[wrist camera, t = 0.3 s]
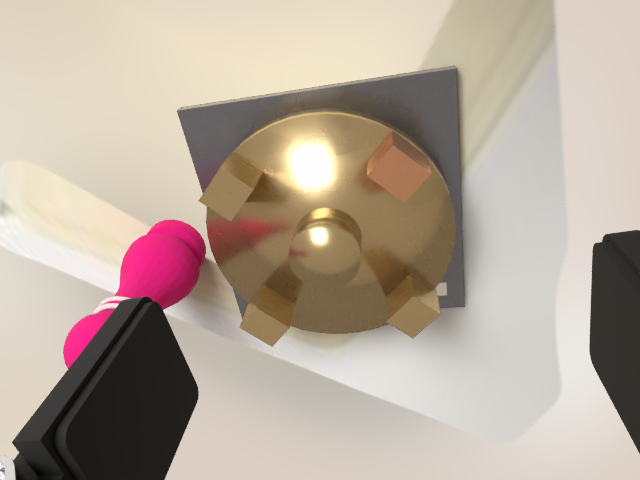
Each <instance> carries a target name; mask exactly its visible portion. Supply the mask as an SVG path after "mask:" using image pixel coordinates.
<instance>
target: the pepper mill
mask: <svg viewBox="0 0 640 480" xmlns="http://www.w3.org/2000/svg"><path fill="white" fill-rule="evenodd" d="M205 254H206V247H205V243H204V240H203V238H202V237H201V235H200V234H199V233H198V232H197V231H196V230H195V229H194V228H193V227H191V226H190V225H188V224H186V223H184V222H182V221H178V220H164V221H161V222H159V223H157V224H155V225H154V226H153V227H152V228H151V230H150V231H149V232H148V233H147V235H145V236H142V237H140V238H139V239H137V240H136V241H134V242H133V243H132V244H131V246H130V247H129V249H128V251H127V252H126V254H125V256H124V258H123V262H122V266H121V274H120V287H119V290H118V291H117V293H116V295H115V296H114V297H110V298H107V299H105V300H104V301H102V302H101V303H100V304H99V306H98V308H97V309H96V310H95V311H94V312H93V314H92V315H89V316H86V317H85V318H83V319H81V320H80V321H79V322H78V323H77V324H76V325H74V327H73V328H72V329H71V331H70V332H69V334H68V336H67V338H66V341H65V345H64V350H63V351H64V352H63V353H64V360H65V364H66V366H67V367H68V369H69V368H70V367H71V365H72V364H73V363H74V361H75V360H76V359H77V358H78V356H79V355H80V354H81V352H82V351H83V350H84V349H85V347H86V346H87V345H88V343H89V342H90V341H91V339H92V338H93V337H94V336H95V334H96V333H97V332H98V330H99V329H100V328H101V327H102V325H103V324H104V323H105V321H106V320H107V319H108V318H109V316H110V315H111V314H112V312H113V311H114V310H115V308H116V307H117V306H118V305H119V303H120V302H121V301H122V300H125V299H132V298H139V297H146V296H147V297H150V298H151V299H152V300H153V301H154V302H158V303H159V304H160V306H161V308H162V310H164V309H165V308H168V307H170V306H172V305H174V304H176V303H178V302H179V301H180V300H182V299H183V298H184V297H186V296H187V295H188V294H189V293H190V291H191V290H192V289H193V287H194V286H195V284H196V282H197V280H198V276H199V267H200V265H201V264H202V262H203V260H204V258H205Z"/></svg>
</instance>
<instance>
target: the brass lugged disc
mask: <svg viewBox="0 0 640 480" xmlns="http://www.w3.org/2000/svg"><path fill="white" fill-rule="evenodd" d="M199 201H200V202H201V203H203V204H204V205H206V206H207V219H206V224H207V233H208V239H209V243H210V247H211V250H212V253H213V255H214V258H215V260H216V263H217V265H218V266H219V268H220V270H221V272H222V273H223V275H224V276H225V278H226V279H227V281H228V282H229V283H230V285H231V286H232V287H233V288H234V289H235V290H236V291H237V292H238V293H239V294H240V296H241V297H243V298H244V299H245V300H246V301H247V302H249V304H248V306H247V309H246V311H245V314H244V317H243V320H242V322H241V325H240V328H241V329H243V330H245V331H246V332H248V333H250V334H251V335H253V336H255V337H256V338H258V339H260V340H262V341H263V342H265V343H267V344H268V345H270V346H273V345H274V344H275V343H276V342H277V341H278V340H279V339H280V338H281V337H282V335H283V334H284V333H285V332H286V331H287V330H288V329H289V328H290V326H293V327H296V328H300V329H303V330H308V331H313V332H320V333H331V334H337V333H354V332H362V331H366V330H371V329H375V328H378V327H381V326H384V325H387V324H389V323H390V324H391V325H393V326H394V327H396V328H397V329H399V330H400V331H402V332H404V333H405V334H407V335H408V336H410V337H411V338H414V337H415V336H416V335H417V334H418V333H420V332H421V331H422V330H423V329H424V328H425V327H426V326H428V325H429V324H430V323H431V322H432V321H433V320H434V319H436V318H437V317H438V316H439V315H440V307H439V301H438V295H437V290H436V289H435V288H436V287H437V286H438V284H439V283H440V282H441V280H442V278H443V276H444V274H445V273H446V271H447V269H448V266H449V263H450V261H451V258H452V255H453V250H454V245H455V236H456V223H455V215H454V209H453V205H452V202H451V198H450V195H449V191H448V188H447V185H446V183H445V180H444V178H443V176H442V174H441V172H440V170H439V169H438V167H437V165H436V164H435V162H434V161H433V159H432V158H431V157H430V156H429V154H428V153H427V152H426V151H425V150H424V149H423V147H422V146H421V145H419V144H418V143H417V142H416V141H415V140H414V139H413V138H411V137H410V136H409V135H408V134H406V133H405V132H403V131H402V130H400V129H399V128H397V127H396V126H394V125H392V124H390V123H388V122H386V121H384V120H381V119H379V118H377V117H374V116H371V115H368V114H365V113H361V112H356V111H351V110H346V109H331V108H322V109H309V110H304V111H299V112H295V113H291V114H288V115H285V116H282V117H280V118H277V119H275V120H273V121H271V122H269V123H267V124H265V125H263V126H261V127H260V128H258V129H257V130H256V131H254V132H253V133H252V134H250V135H249V136H248V137H247V138H246V139H244V140H243V141H242V142H241V143H240V144H239V145H238V146H237V147H236V149H235V150H234V151H232V152H231V153H230V155H229V156H228V157H227V159H226V160H225V162H224V163H223V164H222V166H221V167H220V169H219V170H218V172H217V173H216V175H215V176H214V178H213V179H212V181H211V183H210V184H209V186H208V187H207V189H206V190H205V192H204V193H203V195H202V197H201V198H200V200H199Z"/></svg>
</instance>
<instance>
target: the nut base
mask: <svg viewBox="0 0 640 480" xmlns="http://www.w3.org/2000/svg"><path fill="white" fill-rule="evenodd" d="M322 108H331V109H346V110H351V111H356V112H361V113H365V114H368V115H371V116H374V117H377V118H379V119H381V120H384V121H386V122H388V123H390V124H392V125H394V126H396V127H397V128H399V129H400V130H402V131H403V132H405V133H406V134H408V135H409V136H410V137H411V138H413V139H414V140H415V141H416V142H417V143H418V144H419V145H421V146H422V147H423V149H424V150H425V151H426V152H427V153H428V154H429V156H430V157H431V158H432V159H433V161H434V162H435V164H436V165H437V167H438V169H439V170H440V172H441V174H442V176H443V178H444V180H445V183H446V185H447V188H448V191H449V195H450V198H451V202H452V205H453V209H454V215H455V223H456V236H455V245H454V250H453V255H452V258H451V261H450V263H449V266H448V269H447V271H446V273H445V274H444V276H443V278H442V280H441V282H440V283H439V284H438V286H437V287H436V288H435V289H436V290H437V295H438V301H439V307H440V308H451V307H465V303H464V274H463V245H462V216H461V187H460V158H459V129H458V100H457V71H456V67H455V66H450V67H443V68H437V69H430V70H424V71H417V72H411V73H404V74H397V75H391V76H384V77H378V78H372V79H365V80H358V81H351V82H345V83H338V84H332V85H325V86H319V87H312V88H305V89H299V90H293V91H286V92H280V93H273V94H266V95H259V96H253V97H246V98H240V99H233V100H227V101H220V102H213V103H207V104H200V105H194V106H187V107H181V108H180V109H178V110H177V112H178V116H179V119H180V122H181V125H182V128H183V131H184V135H185V138H186V141H187V144H188V147H189V151H190V154H191V157H192V160H193V163H194V167H195V170H196V173H197V176H198V179H199V182H200V185H201V189H202V192H203V193H204V192H205V190H206V189H207V187H208V186H209V184H210V183H211V181H212V179H213V178H214V176H215V175H216V173H217V172H218V170H219V169H220V167H221V166H222V164H223V163H224V162H225V160H226V159H227V157H228V156H229V155H230V153H231V152H232V151H234V150H235V149H236V147H237V146H238V145H239V144H240V143H241V142H242V141H243V140H244V139H246V138H247V137H248V136H249V135H250V134H252V133H253V132H254V131H256V130H257V129H258V128H260V127H261V126H263V125H265V124H267V123H269V122H271V121H273V120H275V119H277V118H280V117H282V116H285V115H288V114H291V113H295V112H299V111H304V110H309V109H322ZM233 290H234V293H235V297H236V300H237V303H238V306H239V309H240V312H241V316H242V319H243V317H244V314H245V311H246V309H247V306H248V304H249V302H247V301H246V300H245V299H244V298H243V297H241V296H240V294H239V293H238V292H237V291H236V290H235V289H234V288H233Z"/></svg>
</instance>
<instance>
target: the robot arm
mask: <svg viewBox="0 0 640 480" xmlns="http://www.w3.org/2000/svg"><path fill="white" fill-rule="evenodd" d="M591 291H592V292H591V320H590V356H591V360H592V364H593V366H594V368H595V370H596V372H597V374H598V376H599V378H600V380H601V382H602V383H603V385H604V387H605V389H606V391H607V393H608V395H609V396H610V399H611V400H612V402H613V404H614V406H615V408H616V410H617V412H618V413H619V415H620V417H621V419H622V421H623V423H624V425H625V427H626V428H627V431H628V432H629V434H630V436H631V438H632V440H633V442H634V444H635V446H636V447H637V449H638V451H639V453H640V231H639V230H634V231H627V232H620V233H612V234H606V235H605V236H604V237H603V240H602V242H601V243H595V244H594V247H593V260H592V289H591ZM197 400H198V387H197V384H196V382H195V380H194V377H193V375H192V373H191V371H190V369H189V366H188V364H187V362H186V360H185V358H184V355H183V353H182V351H181V350H180V347H179V345H178V342H177V340H176V338H175V336H174V334H173V332H172V329H171V327H170V325H169V323H168V321H167V319H166V316H165V314H164V312H163V310H162V308H161V306H160V304H159V303H158V302H154V301H153V300H152V299H151V298H150V297H147V296H146V297H139V298H132V299H125V300H122V301H121V302H120V303H119V305H118V306H117V307H116V308H115V310H114V311H113V312H112V314H111V315H110V316H109V318H108V319H107V320H106V321H105V323H104V324H103V325H102V327H101V328H100V329H99V330H98V332H97V333H96V334H95V336H94V337H93V338H92V339H91V341H90V342H89V343H88V345H87V346H86V347H85V349H84V350H83V351H82V352H81V354H80V355H79V356H78V358H77V359H76V360H75V361H74V363H73V364H72V365H71V367H70V368H69V369H68V371H67V372H66V373H65V375H64V376H63V377H62V378H61V380H60V381H59V382H58V383H57V385H56V386H55V387H54V389H53V390H52V391H51V392H50V394H49V395H48V396H47V398H46V399H45V400H44V401H43V403H42V404H41V405H40V407H39V408H38V409H37V411H36V412H35V413H34V414H33V416H32V417H31V418H30V420H29V421H28V422H27V423H26V425H25V426H24V427H23V429H22V430H21V431H20V432H19V434H18V435H17V436H16V438H15V439H14V440H13V442H12V443H13V444H14V446H15V447H16V448H17V450H18V451H19V452H20V453H19V454H18V455H17V457H16V458H15V459H14V461H13V460H12V458H10V457H8V456H6V455H0V480H164V479H165V477H166V474H167V472H168V470H169V467H170V465H171V463H172V460H173V458H174V455H175V453H176V451H177V448H178V446H179V443H180V441H181V439H182V436H183V434H184V431H185V429H186V427H187V425H188V422H189V420H190V418H191V415H192V413H193V410H194V408H195V406H196V403H197Z"/></svg>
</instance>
